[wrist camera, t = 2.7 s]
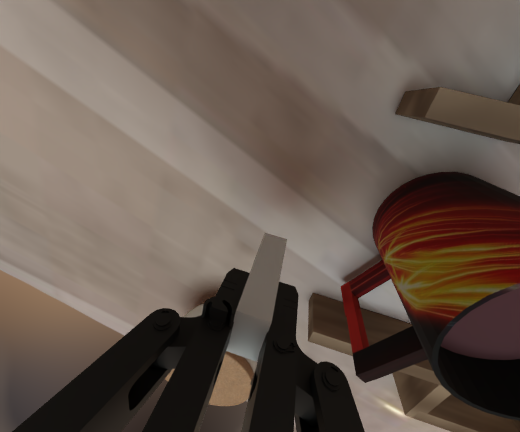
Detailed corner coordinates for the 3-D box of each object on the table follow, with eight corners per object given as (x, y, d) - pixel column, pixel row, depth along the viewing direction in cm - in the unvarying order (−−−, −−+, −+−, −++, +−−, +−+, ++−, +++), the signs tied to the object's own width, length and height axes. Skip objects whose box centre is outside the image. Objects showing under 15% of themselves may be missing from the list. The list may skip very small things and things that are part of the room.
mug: (337, 281, 25) (357, 414, 14) (406, 156, 18) (538, 229, 8) (427, 311, 24) (519, 474, 13) (532, 192, 17) (870, 326, 7)
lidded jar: (283, 321, 29) (271, 407, 21) (236, 353, 34) (211, 434, 25) (215, 270, 27) (174, 342, 19) (176, 312, 32) (130, 383, 24)
